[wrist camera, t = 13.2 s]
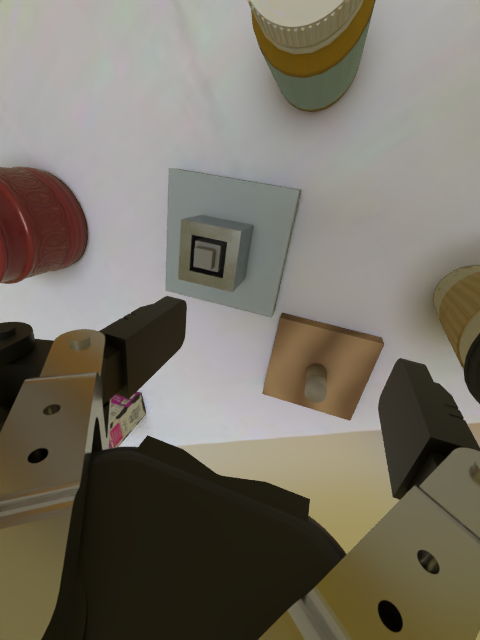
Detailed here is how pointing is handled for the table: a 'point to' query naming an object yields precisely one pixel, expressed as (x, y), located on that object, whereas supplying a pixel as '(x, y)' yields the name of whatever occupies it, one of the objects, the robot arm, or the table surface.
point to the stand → (320, 365)
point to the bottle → (312, 46)
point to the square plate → (230, 204)
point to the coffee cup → (462, 320)
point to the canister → (37, 224)
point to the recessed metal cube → (236, 251)
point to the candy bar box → (124, 417)
